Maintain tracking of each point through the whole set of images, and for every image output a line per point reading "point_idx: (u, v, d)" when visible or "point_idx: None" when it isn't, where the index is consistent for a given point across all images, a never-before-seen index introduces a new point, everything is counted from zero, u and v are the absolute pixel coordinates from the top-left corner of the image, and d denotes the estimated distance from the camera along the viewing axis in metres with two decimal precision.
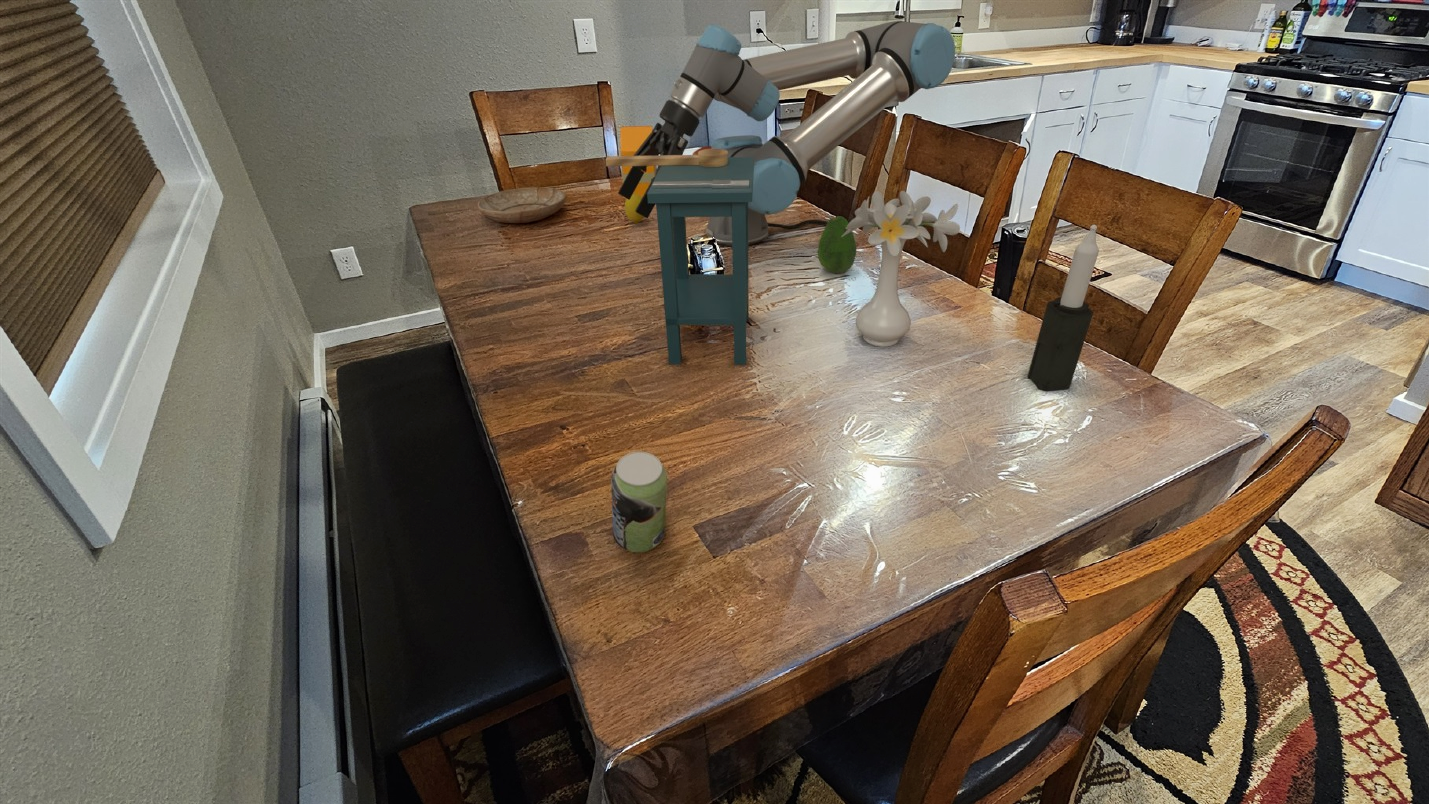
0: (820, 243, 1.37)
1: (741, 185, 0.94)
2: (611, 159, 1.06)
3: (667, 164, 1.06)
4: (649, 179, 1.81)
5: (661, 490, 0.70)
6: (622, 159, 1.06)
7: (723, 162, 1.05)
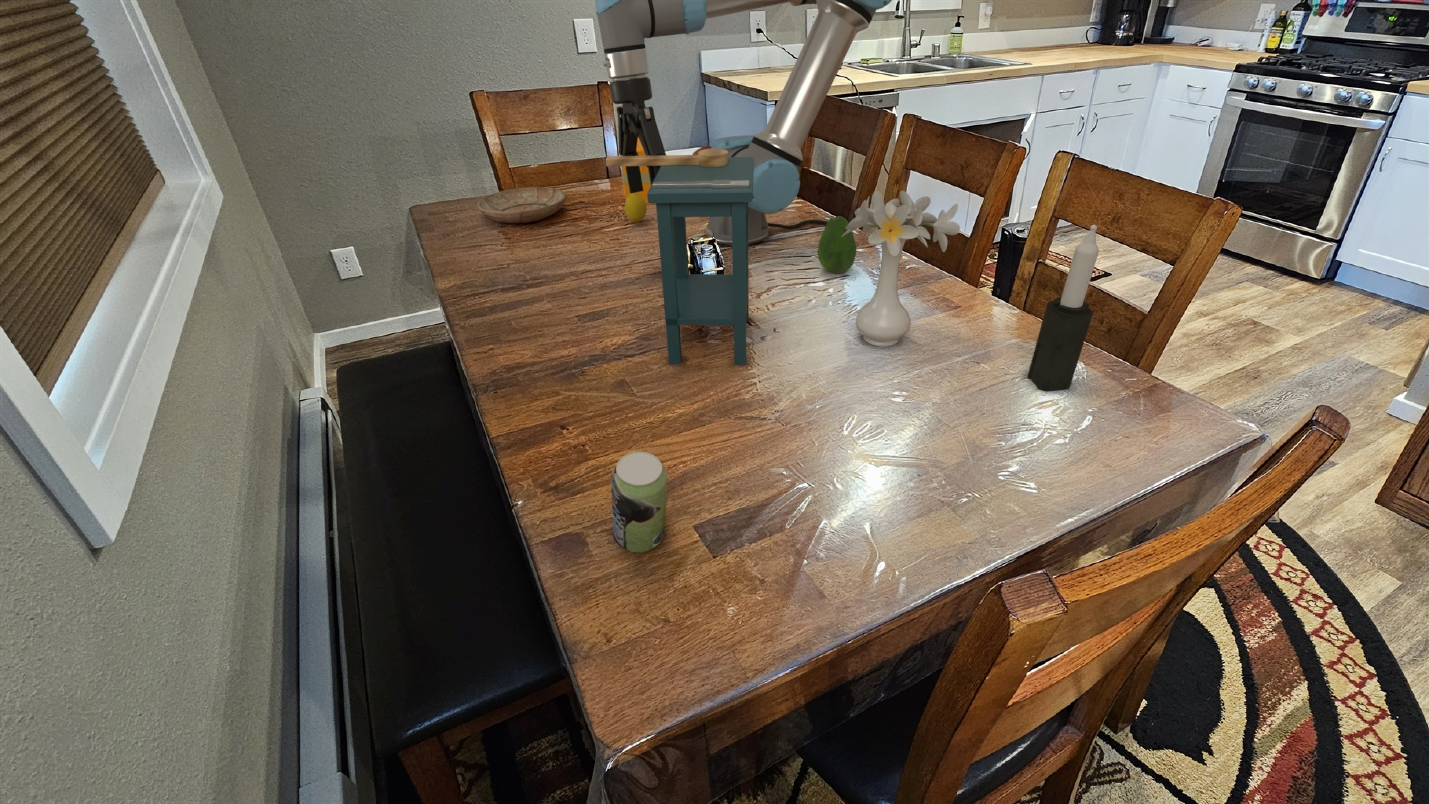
0: (820, 243, 1.37)
1: (741, 185, 0.94)
2: (611, 159, 1.06)
3: (667, 164, 1.06)
4: (649, 179, 1.81)
5: (661, 490, 0.70)
6: (622, 159, 1.06)
7: (723, 162, 1.05)
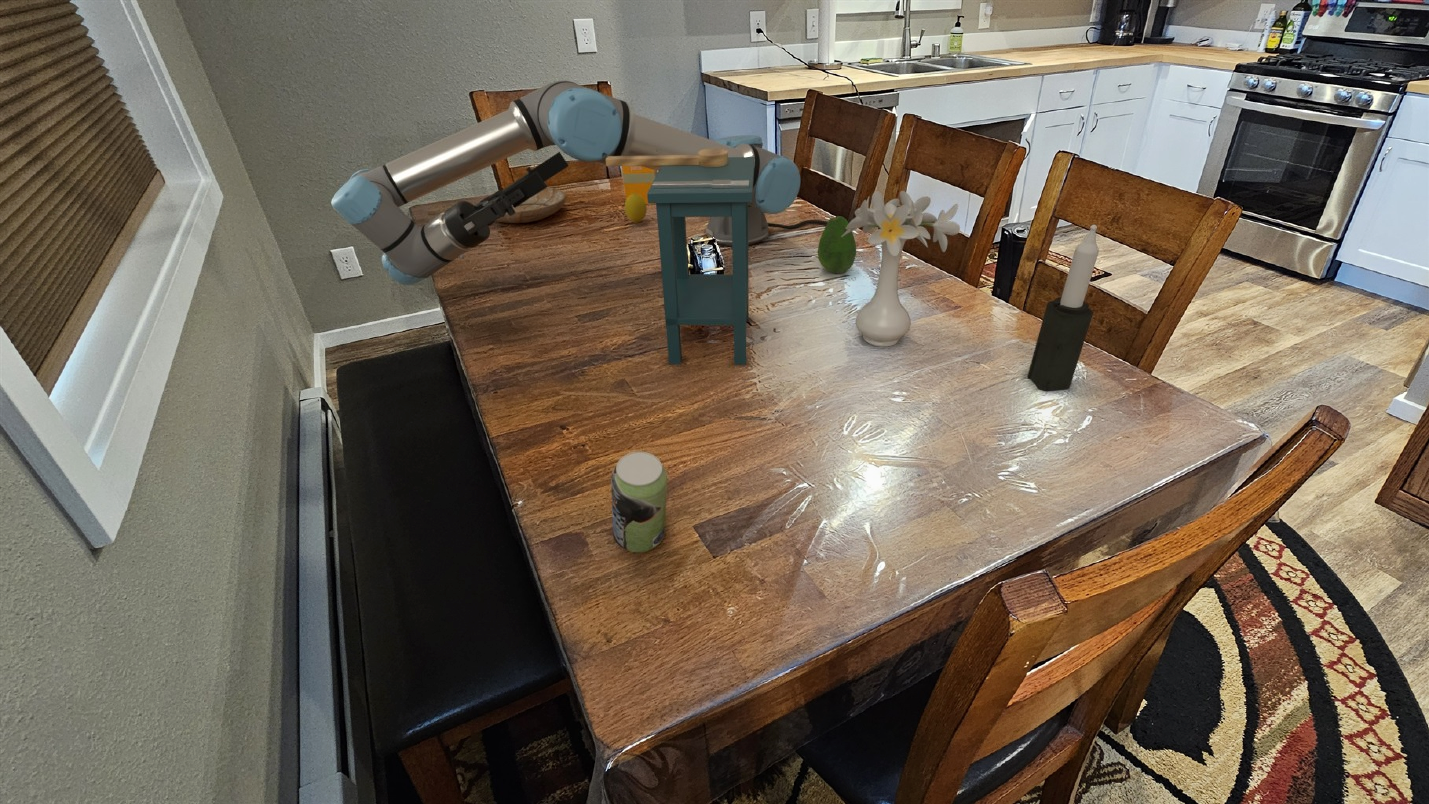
0: (820, 243, 1.37)
1: (741, 185, 0.94)
2: (611, 159, 1.06)
3: (667, 164, 1.06)
4: (649, 179, 1.81)
5: (661, 490, 0.70)
6: (622, 159, 1.06)
7: (723, 162, 1.05)
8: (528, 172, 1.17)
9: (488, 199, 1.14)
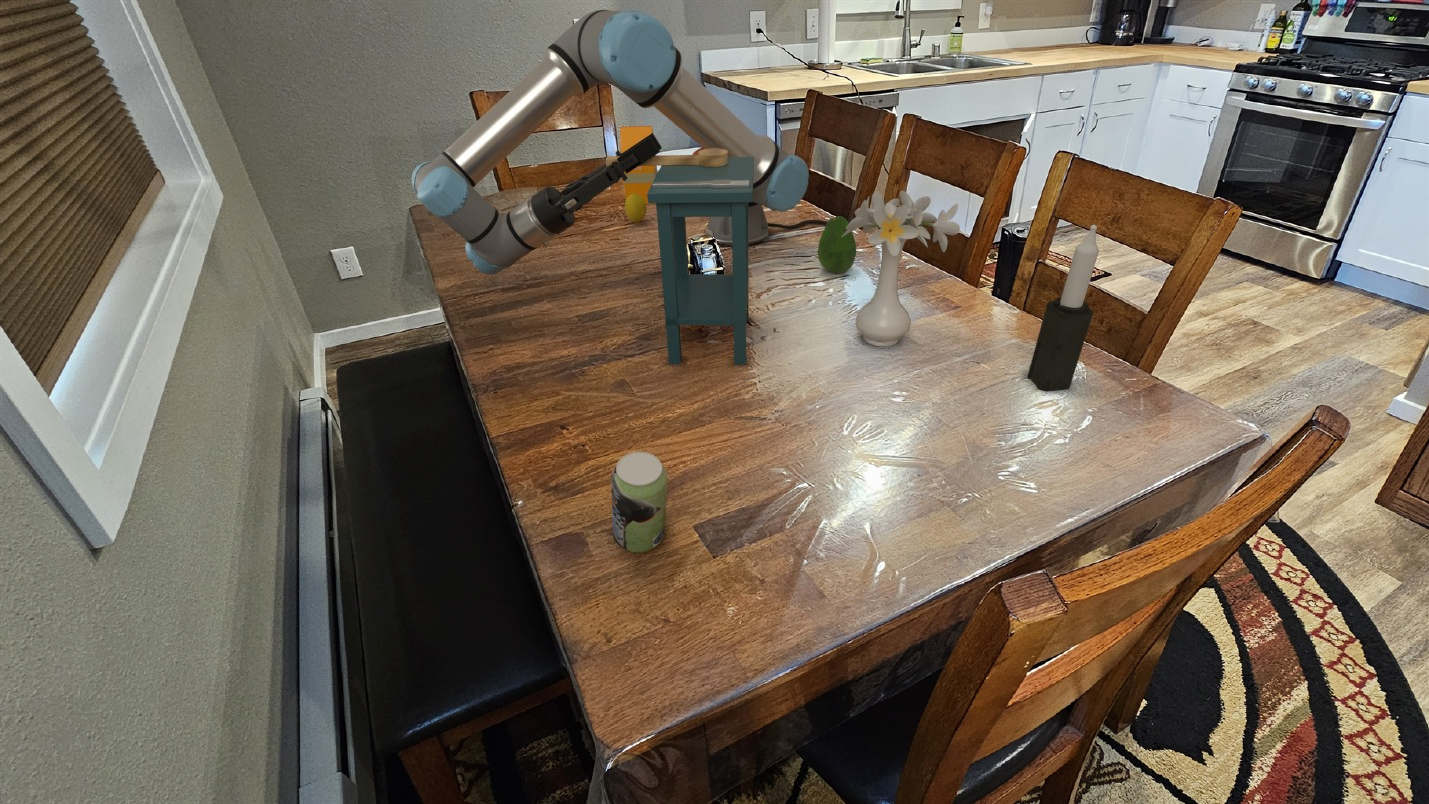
0: (820, 243, 1.37)
1: (741, 185, 0.94)
2: (611, 159, 1.06)
3: (667, 164, 1.06)
4: (649, 179, 1.81)
5: (661, 490, 0.70)
6: None
7: (723, 161, 1.05)
8: None
9: (574, 184, 1.11)
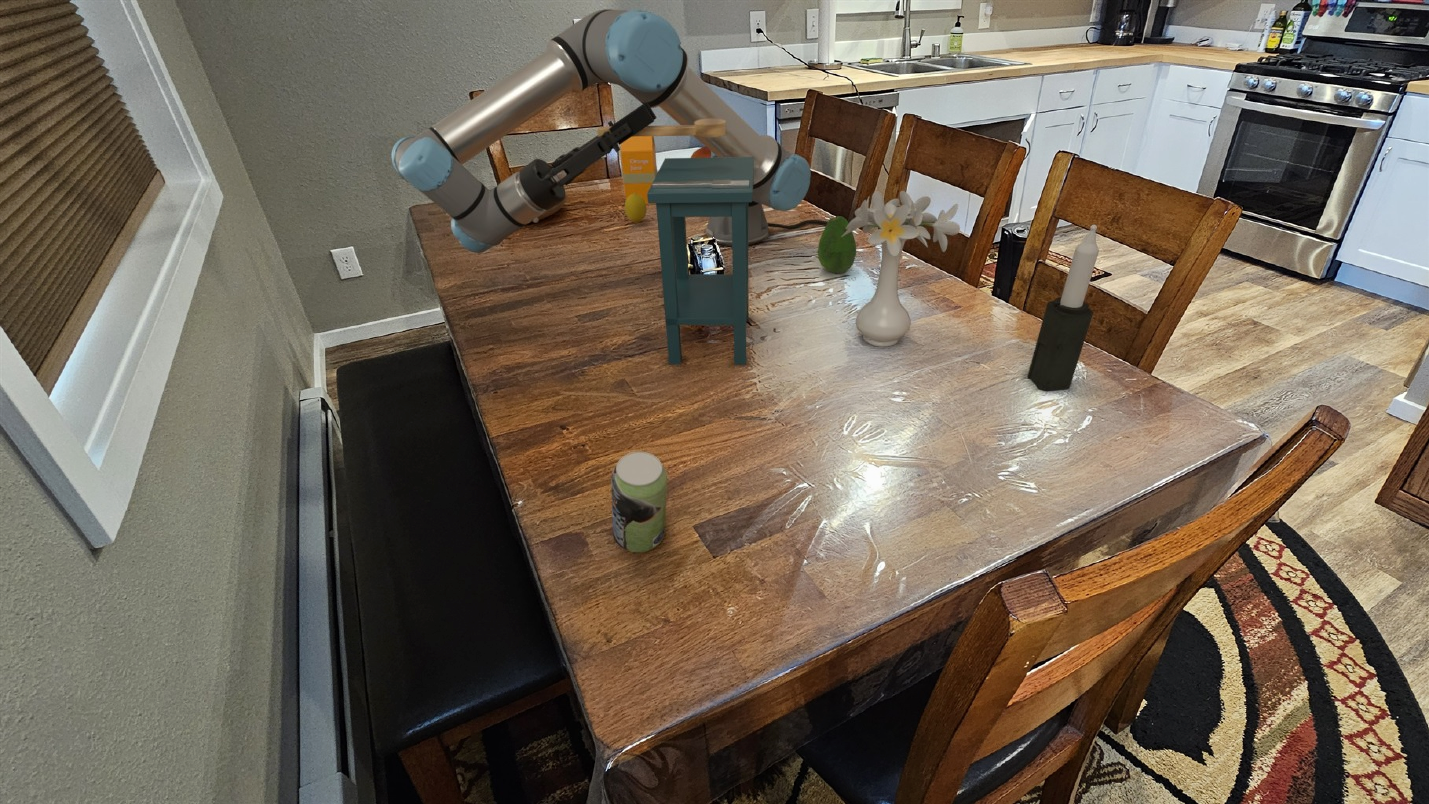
0: (820, 243, 1.37)
1: (741, 185, 0.94)
2: (603, 129, 1.01)
3: (662, 134, 1.01)
4: (649, 179, 1.81)
5: (661, 490, 0.70)
6: None
7: (721, 131, 0.99)
8: None
9: None
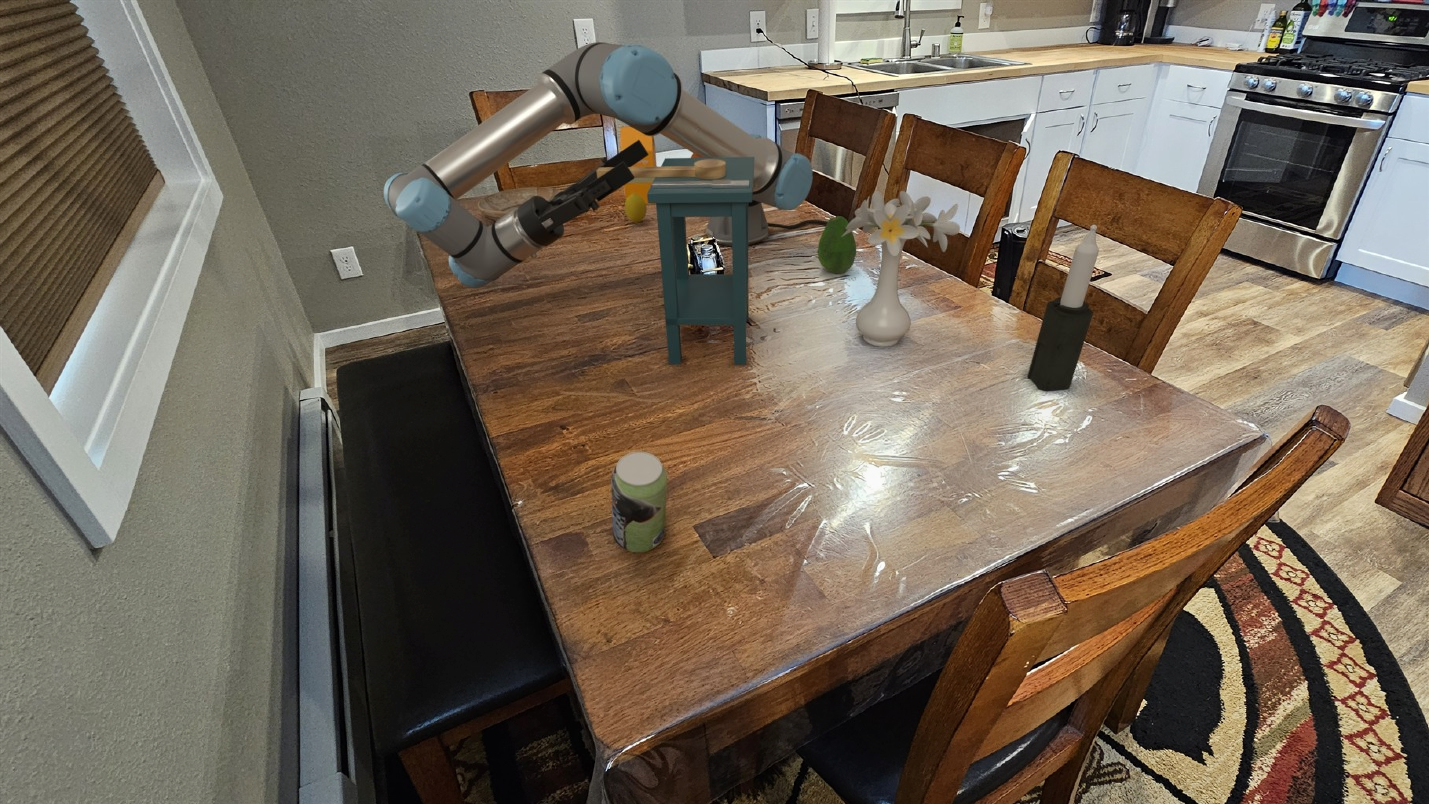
0: (820, 243, 1.37)
1: (741, 185, 0.94)
2: (602, 170, 1.01)
3: (661, 176, 1.00)
4: (649, 179, 1.81)
5: (661, 490, 0.70)
6: None
7: (720, 173, 0.99)
8: (604, 163, 1.08)
9: (563, 193, 1.05)
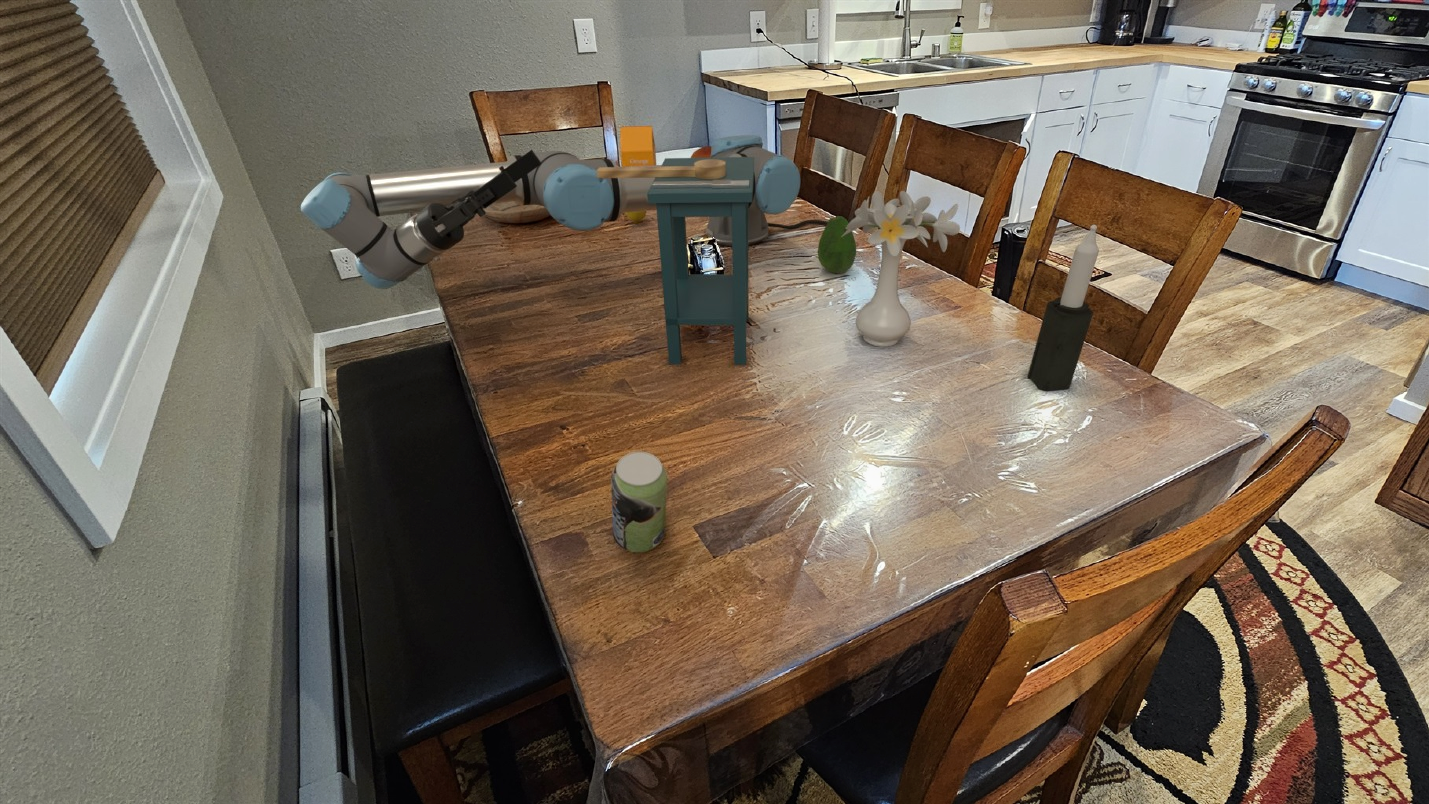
0: (820, 243, 1.37)
1: (741, 185, 0.94)
2: (602, 170, 1.01)
3: (661, 176, 1.00)
4: None
5: (661, 490, 0.70)
6: (614, 170, 1.00)
7: (720, 173, 0.99)
8: (501, 171, 1.15)
9: (460, 200, 1.12)
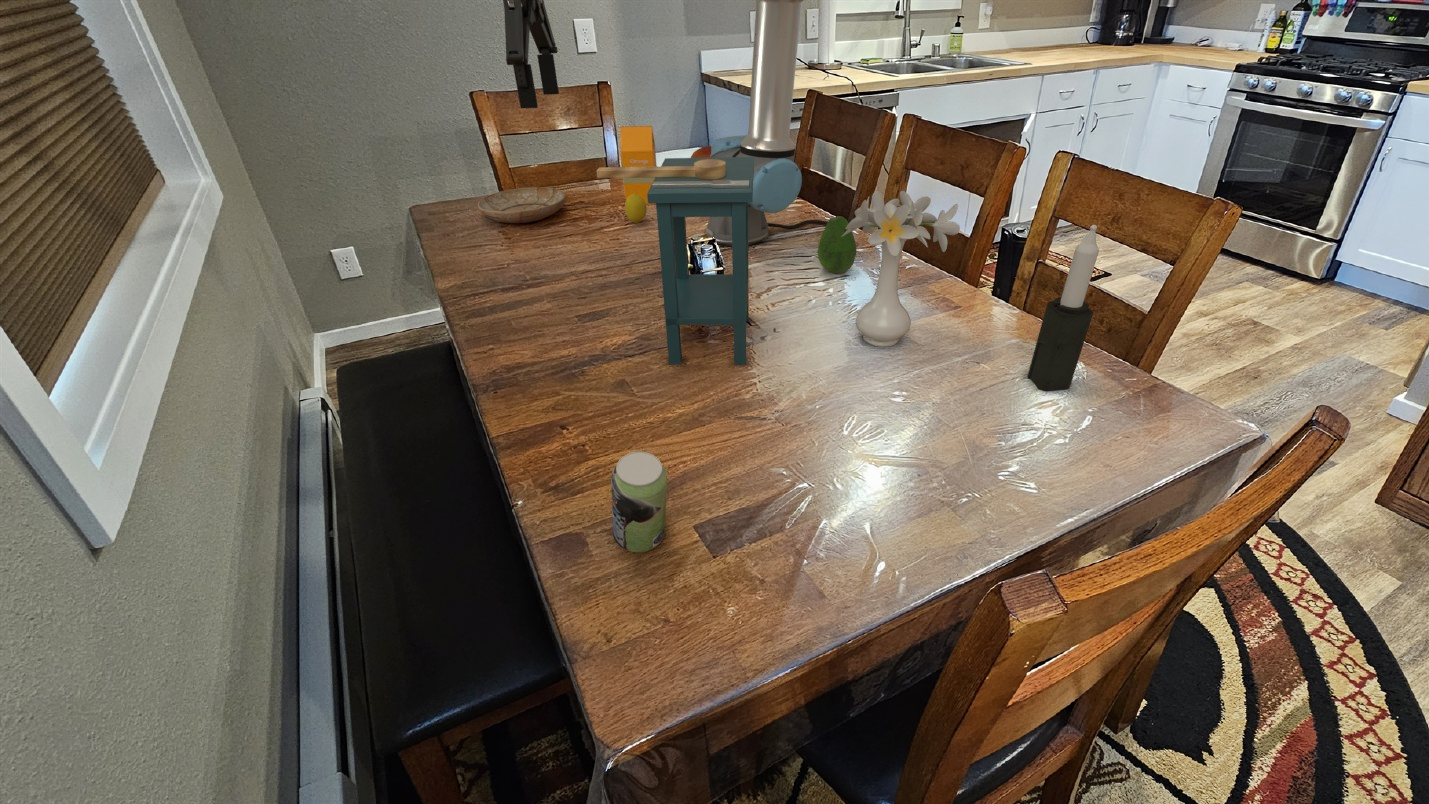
0: (820, 243, 1.37)
1: (741, 185, 0.94)
2: (602, 170, 1.01)
3: (661, 176, 1.00)
4: (649, 179, 1.81)
5: (661, 490, 0.70)
6: (614, 170, 1.00)
7: (720, 173, 0.99)
8: (552, 49, 1.18)
9: (537, 9, 1.10)
